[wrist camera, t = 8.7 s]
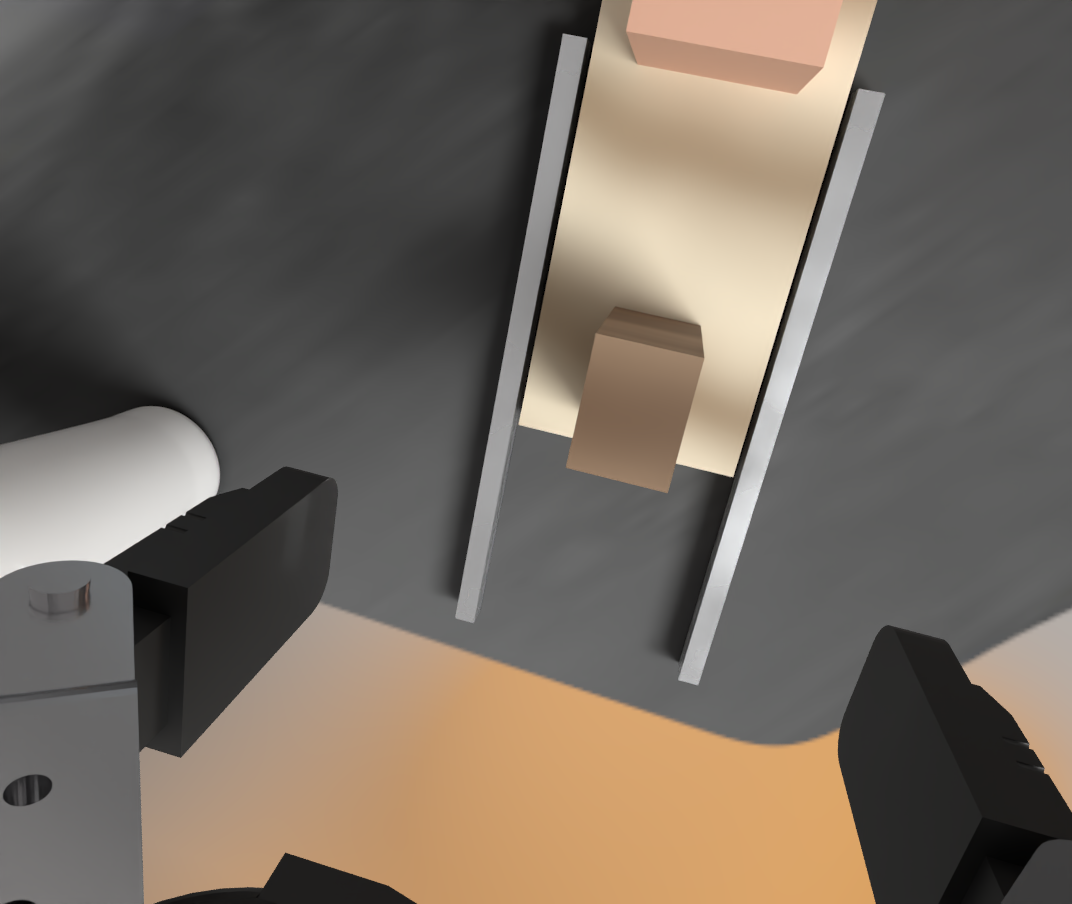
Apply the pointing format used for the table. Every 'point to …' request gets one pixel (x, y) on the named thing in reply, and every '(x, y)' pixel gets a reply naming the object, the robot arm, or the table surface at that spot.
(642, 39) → the terracotta block
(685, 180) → the birch strip
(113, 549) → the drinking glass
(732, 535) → the guide rails
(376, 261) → the table surface
